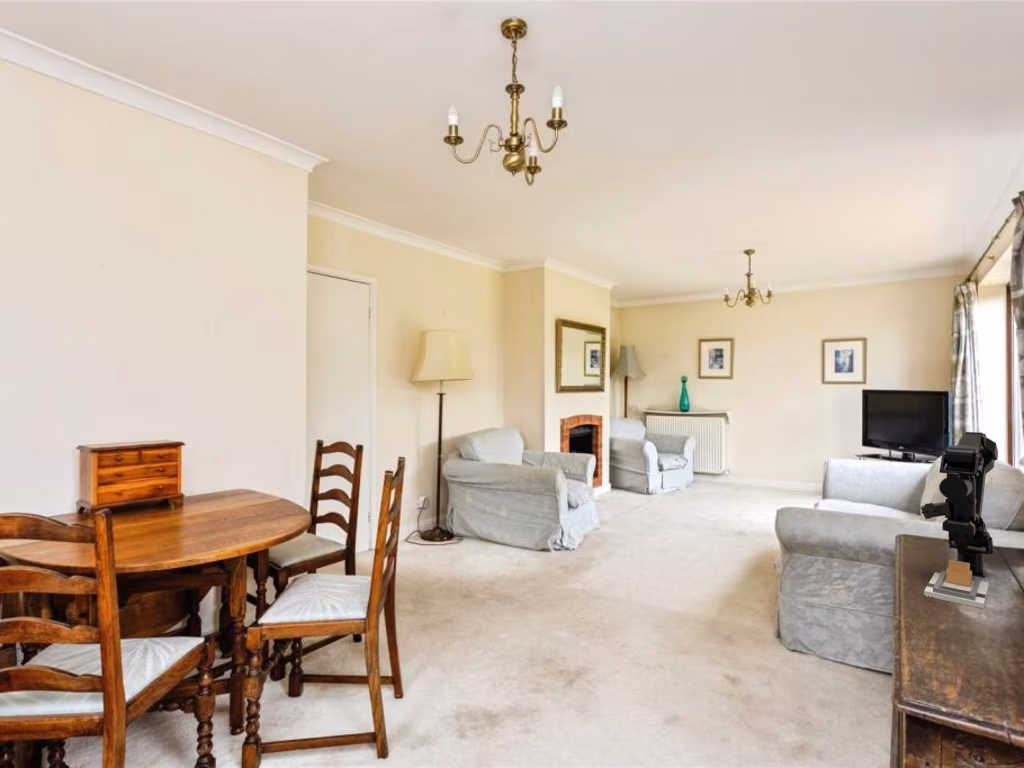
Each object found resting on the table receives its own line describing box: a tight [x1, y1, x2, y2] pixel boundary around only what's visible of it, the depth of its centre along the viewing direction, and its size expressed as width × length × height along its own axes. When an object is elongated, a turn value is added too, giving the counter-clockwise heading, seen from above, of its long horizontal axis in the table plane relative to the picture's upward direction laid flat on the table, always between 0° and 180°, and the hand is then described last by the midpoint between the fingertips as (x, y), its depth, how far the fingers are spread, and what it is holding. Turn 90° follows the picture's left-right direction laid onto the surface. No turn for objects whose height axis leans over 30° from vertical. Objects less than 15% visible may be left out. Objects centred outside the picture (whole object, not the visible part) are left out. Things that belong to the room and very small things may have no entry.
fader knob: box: [945, 559, 973, 586], centre depth 139 cm, size 4×5×5 cm
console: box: [923, 570, 990, 609], centre depth 136 cm, size 20×11×2 cm, turn 136°
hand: (961, 554), depth 143 cm, fingers closed
